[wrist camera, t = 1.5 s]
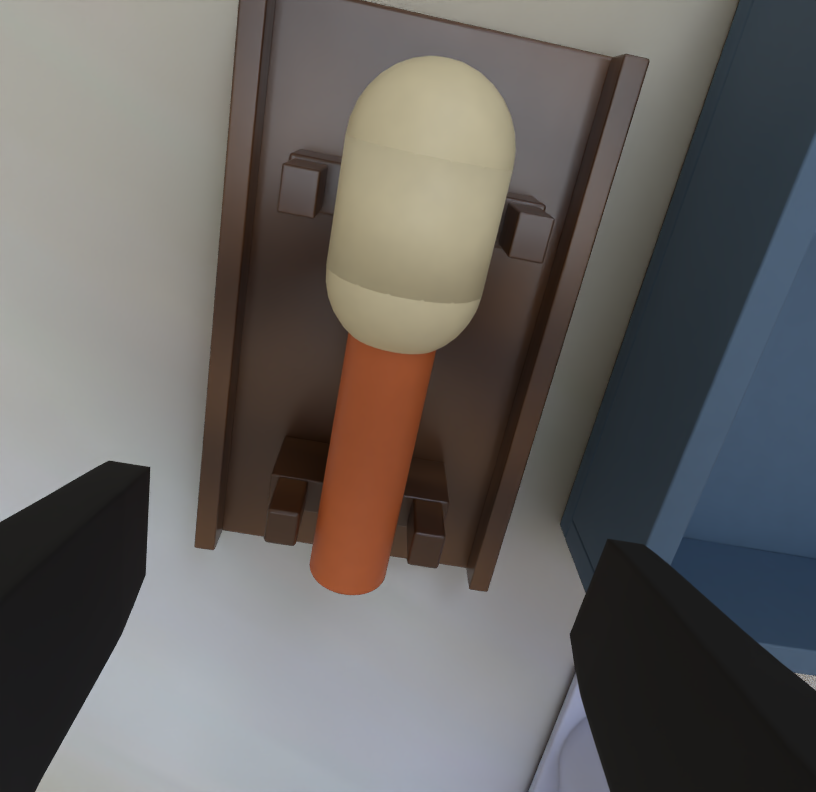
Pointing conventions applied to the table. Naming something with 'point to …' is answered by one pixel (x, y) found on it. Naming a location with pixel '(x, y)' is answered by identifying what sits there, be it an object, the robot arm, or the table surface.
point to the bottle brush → (402, 286)
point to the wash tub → (726, 355)
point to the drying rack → (307, 256)
